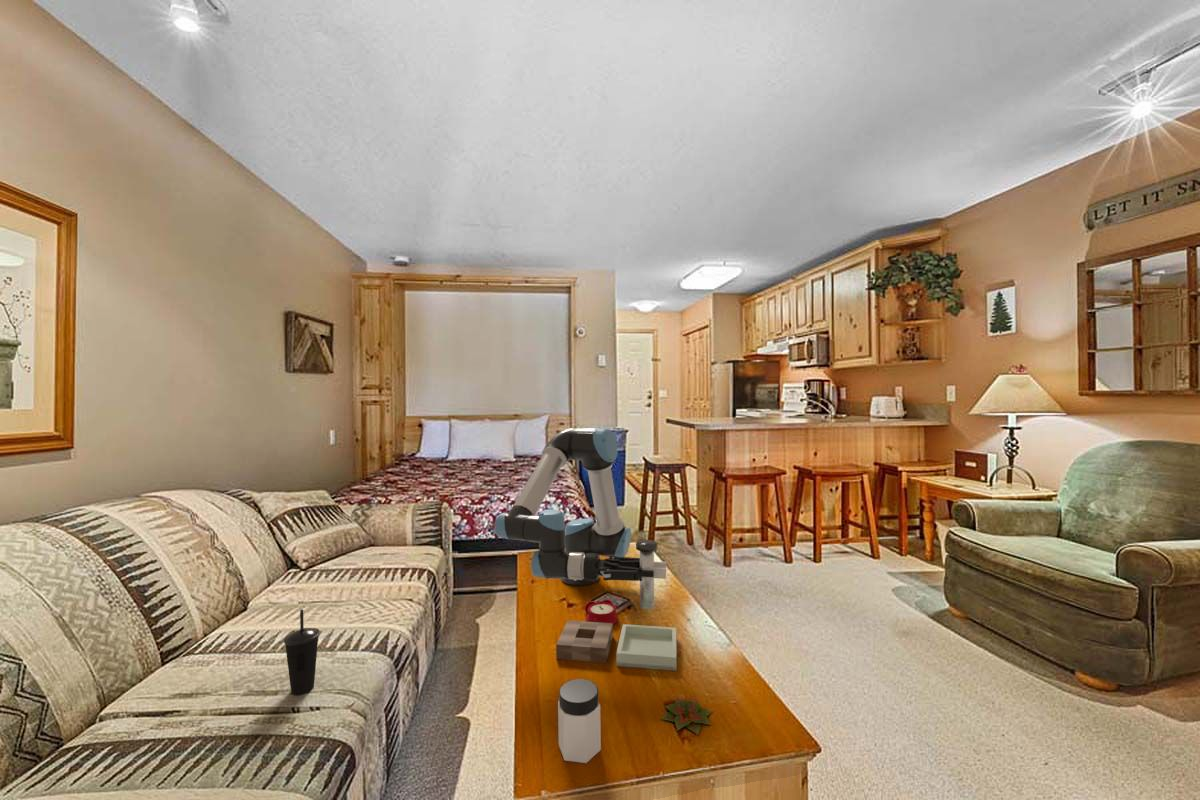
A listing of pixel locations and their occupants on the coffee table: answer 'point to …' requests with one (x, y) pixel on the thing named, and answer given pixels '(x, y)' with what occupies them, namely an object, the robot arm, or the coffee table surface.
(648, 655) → the sage tray
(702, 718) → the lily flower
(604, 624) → the brown square frame
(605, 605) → the alarm clock
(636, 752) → the coffee table surface
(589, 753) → the jar
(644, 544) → the steel pin
